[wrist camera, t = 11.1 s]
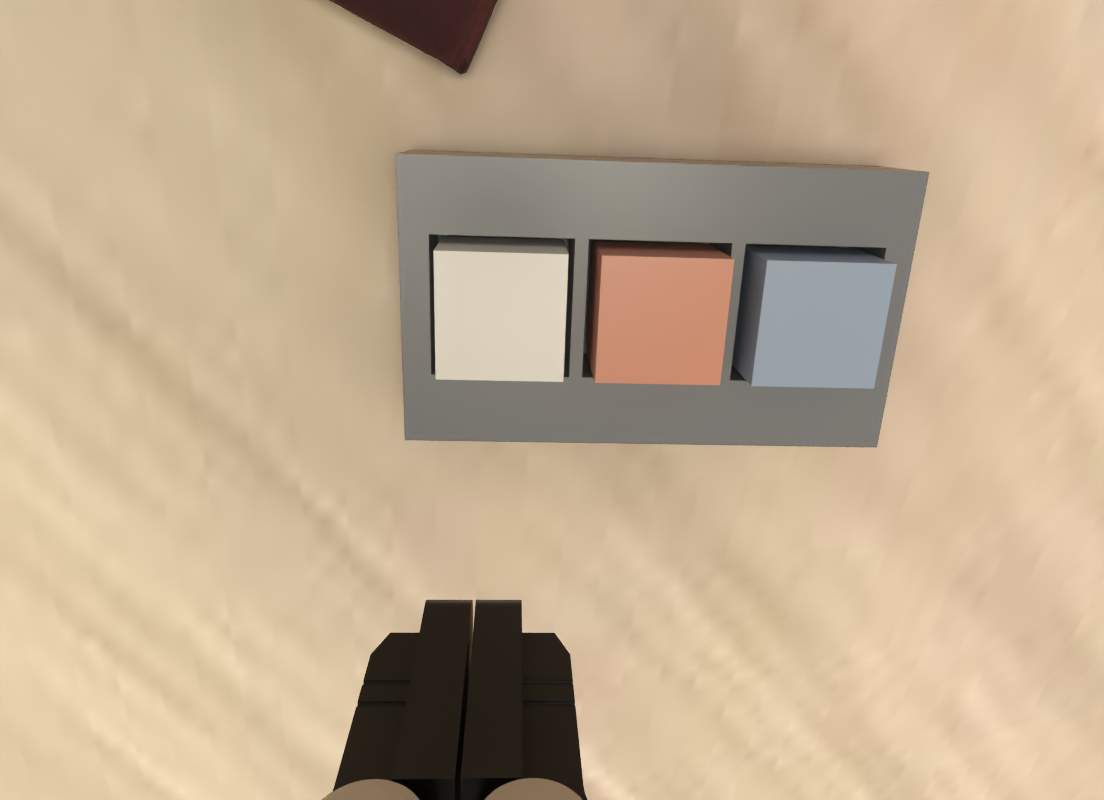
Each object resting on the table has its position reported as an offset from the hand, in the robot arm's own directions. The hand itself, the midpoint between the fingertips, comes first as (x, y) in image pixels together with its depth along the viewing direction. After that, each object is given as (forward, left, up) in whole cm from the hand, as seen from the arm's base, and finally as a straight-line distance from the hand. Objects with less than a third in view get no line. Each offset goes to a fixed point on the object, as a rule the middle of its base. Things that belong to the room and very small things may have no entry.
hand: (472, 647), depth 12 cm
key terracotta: (+7, 0, -26) cm, 27 cm away
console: (+7, 0, -29) cm, 30 cm away
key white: (0, 0, -26) cm, 26 cm away
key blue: (+14, 0, -26) cm, 30 cm away
